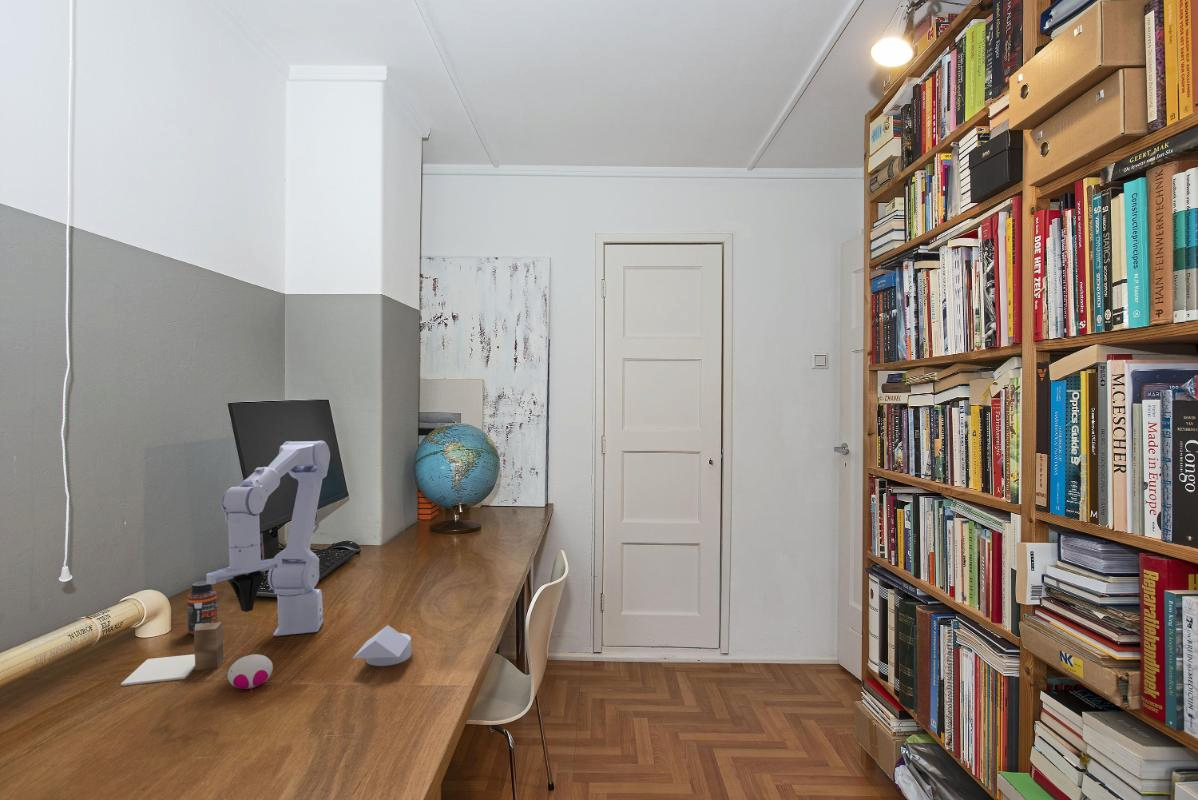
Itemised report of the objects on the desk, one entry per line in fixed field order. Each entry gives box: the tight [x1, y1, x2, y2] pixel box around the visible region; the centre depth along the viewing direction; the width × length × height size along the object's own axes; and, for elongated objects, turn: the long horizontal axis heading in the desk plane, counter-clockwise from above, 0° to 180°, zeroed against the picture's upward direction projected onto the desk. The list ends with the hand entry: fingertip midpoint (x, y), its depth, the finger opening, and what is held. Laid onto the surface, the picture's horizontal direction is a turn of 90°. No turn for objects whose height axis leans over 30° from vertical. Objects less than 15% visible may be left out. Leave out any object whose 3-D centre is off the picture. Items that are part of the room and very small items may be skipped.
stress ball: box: [227, 654, 274, 693], centre depth 126 cm, size 8×8×7 cm
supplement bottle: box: [187, 580, 219, 636], centre depth 157 cm, size 6×6×11 cm
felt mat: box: [120, 653, 195, 687], centre depth 135 cm, size 11×12×1 cm
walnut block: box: [193, 621, 224, 671], centre depth 137 cm, size 4×4×8 cm
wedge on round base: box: [352, 624, 412, 667], centre depth 137 cm, size 9×7×13 cm
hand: (246, 610), depth 139 cm, fingers closed
